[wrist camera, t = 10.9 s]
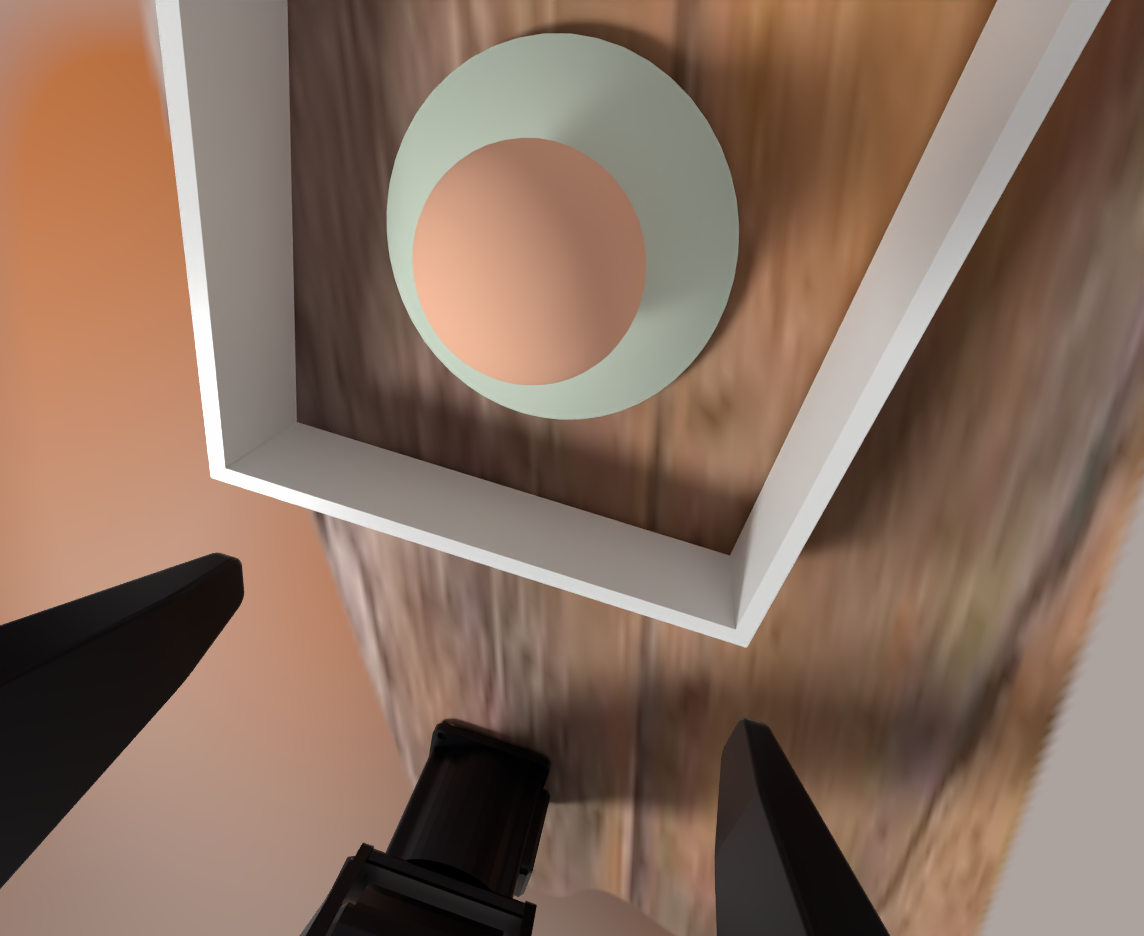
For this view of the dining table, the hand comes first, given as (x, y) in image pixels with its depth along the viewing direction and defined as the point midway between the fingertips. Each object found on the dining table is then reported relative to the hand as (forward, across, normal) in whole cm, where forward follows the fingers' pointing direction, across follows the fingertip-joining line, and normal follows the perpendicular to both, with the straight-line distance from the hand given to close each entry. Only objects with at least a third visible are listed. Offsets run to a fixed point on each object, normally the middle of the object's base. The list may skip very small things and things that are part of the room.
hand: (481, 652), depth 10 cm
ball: (+11, +2, -5) cm, 12 cm away
